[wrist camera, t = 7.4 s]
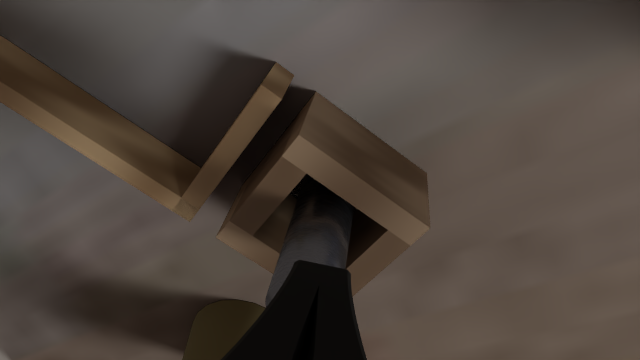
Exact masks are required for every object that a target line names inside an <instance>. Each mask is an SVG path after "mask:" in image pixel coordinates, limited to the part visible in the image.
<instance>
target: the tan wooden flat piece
mask: <svg viewBox="0 0 640 360" xmlns="http://www.w3.org/2000/svg"><path fill="white" fill-rule="evenodd" d="M293 77H294V75H293V74H292V73H290V72H289V71H287V70H286V69H285V68H283V67H282V66H281V65H279V64H278V63H277V62H276V63H275V64H274V66H273V67H272V69H271V70H270V71H269V73H268V74H267V76H266V77H265V78H264V80H263V81H262V83H261V84H260V86H259V87H258V88H257V90H256V91H255V93H254V94H253V95H252V97H251V98H250V100H249V101H248V102H247V104H246V105H245V107H244V108H243V110H242V111H241V112H240V114H239V115H238V117H237V118H236V119H235V121H234V122H233V124H232V125H231V127H230V128H229V129H228V131H227V132H226V134H225V135H224V136H223V138H222V139H221V141H220V142H219V143H218V145H217V146H216V148H215V149H214V151H213V152H212V153H211V155H210V156H209V158H208V159H207V160H206V162H205V163H204V165H203V166H202V168H200V167H198V166H197V165H195V164H194V163H192V162H191V161H189V160H188V159H186V158H185V157H183V156H182V155H180V154H179V153H177V152H176V151H174V150H173V149H171V148H170V147H168V146H167V145H165V144H164V143H162V142H161V141H159V140H158V139H156V138H155V137H153V136H152V135H150V134H149V133H147V132H146V131H144V130H143V129H141V128H139V127H138V126H136V125H135V124H133V123H132V122H130V121H129V120H127V119H126V118H124V117H123V116H121V115H120V114H118V113H117V112H115V111H114V110H112V109H111V108H109V107H108V106H106V105H105V104H103V103H102V102H100V101H99V100H97V99H96V98H94V97H93V96H91V95H90V94H88V93H87V92H85V91H84V90H82V89H81V88H79V87H78V86H76V85H75V84H73V83H72V82H70V81H68V80H67V79H65V78H64V77H62V76H61V75H59V74H58V73H56V72H55V71H53V70H52V69H50V68H49V67H47V66H46V65H44V64H43V63H41V62H40V61H38V60H37V59H35V58H34V57H32V56H31V55H29V54H28V53H26V52H25V51H23V50H22V49H20V48H19V47H17V46H16V45H14V44H13V43H11V42H10V41H8V40H7V39H5V38H4V37H2V36H1V35H0V102H1V103H3V104H4V105H6V106H7V107H9V108H11V109H12V110H14V111H15V112H17V113H18V114H20V115H22V116H23V117H25V118H26V119H28V120H29V121H31V122H33V123H34V124H36V125H37V126H39V127H41V128H42V129H44V130H45V131H47V132H48V133H50V134H52V135H53V136H55V137H56V138H58V139H60V140H61V141H63V142H64V143H66V144H67V145H69V146H71V147H72V148H74V149H75V150H77V151H78V152H80V153H82V154H83V155H85V156H86V157H88V158H90V159H91V160H93V161H94V162H96V163H97V164H99V165H101V166H102V167H104V168H105V169H107V170H108V171H110V172H112V173H113V174H115V175H116V176H118V177H120V178H121V179H123V180H124V181H126V182H127V183H129V184H131V185H132V186H134V187H135V188H137V189H138V190H140V191H142V192H143V193H145V194H146V195H148V196H150V197H151V198H153V199H154V200H156V201H157V202H159V203H161V204H162V205H164V206H165V207H167V208H168V209H170V210H172V211H173V212H175V213H176V214H178V215H180V216H181V217H183V218H184V219H186V220H187V221H189V222H190V221H191V220H192V218H193V217H194V216H195V214H196V213H197V212H198V210H199V209H200V208H201V206H202V205H203V204H204V202H205V201H206V200H207V198H208V197H209V196H210V194H211V193H212V192H213V190H214V189H215V188H216V186H217V185H218V184H219V182H220V181H221V180H222V178H223V177H224V176H225V174H226V173H227V172H228V170H229V169H230V168H231V166H232V165H233V164H234V162H235V161H236V160H237V158H238V157H239V156H240V154H241V153H242V152H243V150H244V149H245V148H246V146H247V145H248V144H249V142H250V141H251V140H252V138H253V137H254V136H255V134H256V133H257V132H258V130H259V129H260V128H261V126H262V125H263V124H264V122H265V121H266V120H267V118H268V117H269V116H270V114H271V113H272V112H273V110H274V109H275V108H276V106H277V105H278V104H279V102H280V101H281V100H282V98H283V96H284V94H285V92H286V90H287V88H288V86H289V85H290V83H291V81H292V79H293Z"/></svg>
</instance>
